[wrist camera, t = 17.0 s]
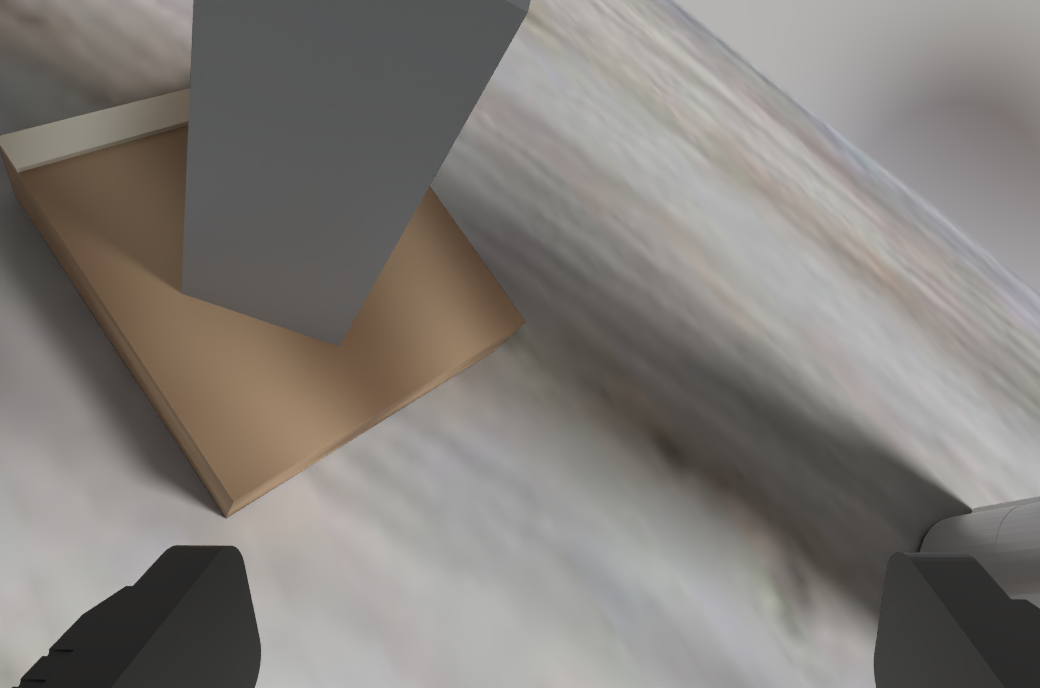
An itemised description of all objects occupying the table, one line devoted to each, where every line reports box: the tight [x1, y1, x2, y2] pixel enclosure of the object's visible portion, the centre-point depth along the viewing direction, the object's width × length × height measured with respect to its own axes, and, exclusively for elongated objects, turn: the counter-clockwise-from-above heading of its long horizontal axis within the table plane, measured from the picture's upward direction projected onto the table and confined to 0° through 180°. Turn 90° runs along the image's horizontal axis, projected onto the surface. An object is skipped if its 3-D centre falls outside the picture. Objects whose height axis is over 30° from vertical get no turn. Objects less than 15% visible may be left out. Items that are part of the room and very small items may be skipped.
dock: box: [0, 88, 525, 518], centre depth 25 cm, size 12×13×3 cm
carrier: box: [181, 0, 530, 346], centre depth 18 cm, size 6×5×14 cm
